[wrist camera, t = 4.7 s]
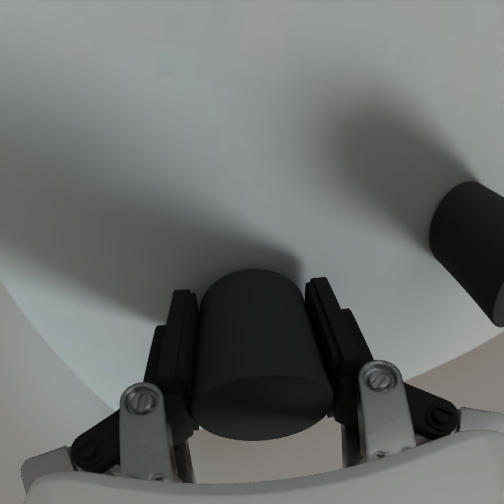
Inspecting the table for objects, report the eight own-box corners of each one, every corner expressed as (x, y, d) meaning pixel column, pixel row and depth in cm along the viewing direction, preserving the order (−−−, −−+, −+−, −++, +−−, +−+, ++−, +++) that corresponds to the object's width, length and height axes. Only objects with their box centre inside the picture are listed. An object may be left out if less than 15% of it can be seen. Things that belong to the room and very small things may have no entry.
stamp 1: (208, 349, 12) (205, 444, 8) (191, 273, 10) (174, 379, 6) (301, 341, 12) (324, 432, 8) (306, 263, 10) (345, 363, 6)
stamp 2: (420, 268, 11) (476, 339, 7) (437, 179, 9) (519, 232, 5) (479, 259, 11) (533, 315, 8) (498, 183, 9) (568, 227, 6)
